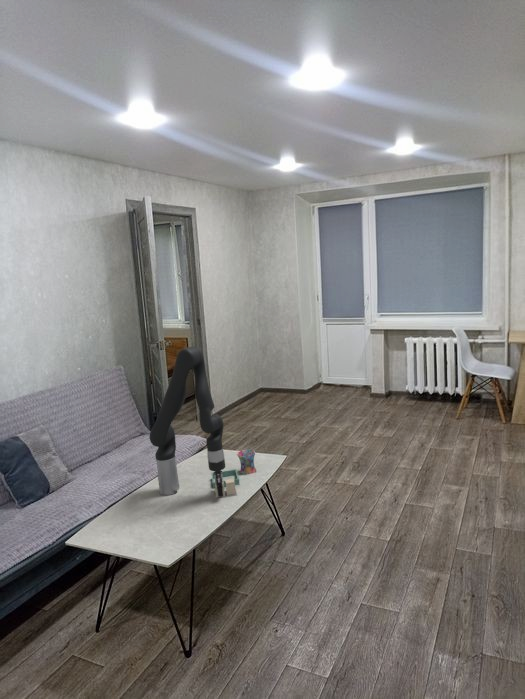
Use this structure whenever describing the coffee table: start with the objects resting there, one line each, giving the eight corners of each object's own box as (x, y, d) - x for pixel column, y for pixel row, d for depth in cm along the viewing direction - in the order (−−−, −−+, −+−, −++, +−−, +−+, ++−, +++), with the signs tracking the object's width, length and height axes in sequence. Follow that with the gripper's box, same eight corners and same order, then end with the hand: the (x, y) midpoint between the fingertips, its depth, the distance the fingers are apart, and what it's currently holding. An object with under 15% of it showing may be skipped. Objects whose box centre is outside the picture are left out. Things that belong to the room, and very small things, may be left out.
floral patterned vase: (253, 476, 252) (251, 456, 250) (236, 475, 255) (234, 455, 254) (261, 467, 263) (259, 448, 261) (245, 466, 266) (243, 447, 265)
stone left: (216, 497, 231) (214, 485, 230) (215, 493, 235) (214, 481, 234) (225, 496, 231) (223, 483, 230) (224, 492, 235) (222, 480, 234)
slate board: (215, 501, 229) (215, 499, 229) (214, 494, 236) (214, 492, 236) (237, 497, 231) (237, 495, 231) (236, 491, 238) (235, 489, 237)
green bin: (213, 490, 241) (212, 483, 240) (212, 480, 253) (211, 473, 252) (239, 486, 242) (238, 478, 242) (237, 476, 255) (236, 469, 254)
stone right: (227, 495, 231) (225, 483, 230) (226, 492, 235) (225, 479, 234) (235, 494, 232) (234, 481, 231) (235, 490, 236) (233, 478, 235)
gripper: (207, 454, 237) (211, 488, 239) (208, 465, 223) (213, 501, 225) (223, 452, 238) (227, 486, 240) (225, 462, 224) (229, 499, 226)
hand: (220, 493), depth 233 cm, fingers closed on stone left, 4 cm apart
